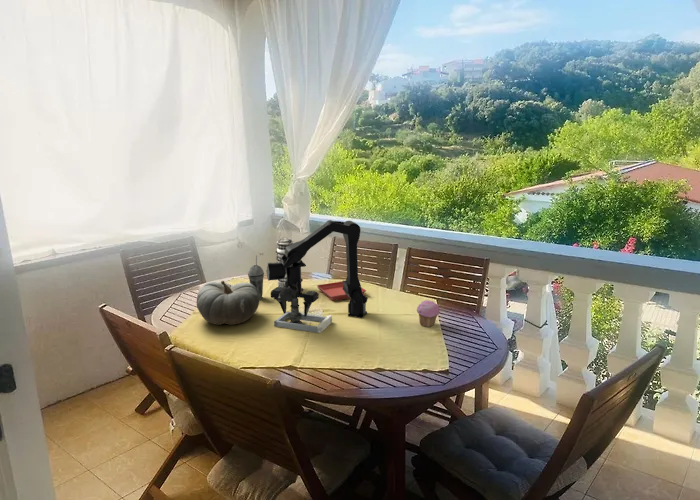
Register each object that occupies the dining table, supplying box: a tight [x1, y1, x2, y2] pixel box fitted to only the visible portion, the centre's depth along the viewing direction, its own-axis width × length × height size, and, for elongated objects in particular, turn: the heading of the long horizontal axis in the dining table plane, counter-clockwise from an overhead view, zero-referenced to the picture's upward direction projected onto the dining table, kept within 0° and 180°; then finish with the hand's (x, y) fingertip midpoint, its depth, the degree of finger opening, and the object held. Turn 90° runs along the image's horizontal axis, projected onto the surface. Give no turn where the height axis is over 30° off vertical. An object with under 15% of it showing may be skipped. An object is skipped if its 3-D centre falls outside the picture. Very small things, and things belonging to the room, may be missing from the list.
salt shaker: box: [288, 297, 304, 324], centre depth 197 cm, size 6×6×12 cm
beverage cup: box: [247, 255, 265, 300], centre depth 224 cm, size 7×7×20 cm
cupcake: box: [416, 299, 441, 328], centre depth 194 cm, size 9×9×10 cm
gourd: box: [196, 280, 261, 326], centre depth 201 cm, size 25×25×17 cm
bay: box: [273, 310, 333, 334], centre depth 197 cm, size 20×11×3 cm, turn 70°
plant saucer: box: [316, 281, 367, 302], centre depth 232 cm, size 18×18×3 cm
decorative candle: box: [275, 237, 295, 288], centre depth 235 cm, size 9×9×25 cm
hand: (295, 314), depth 197 cm, fingers open, 9 cm apart
